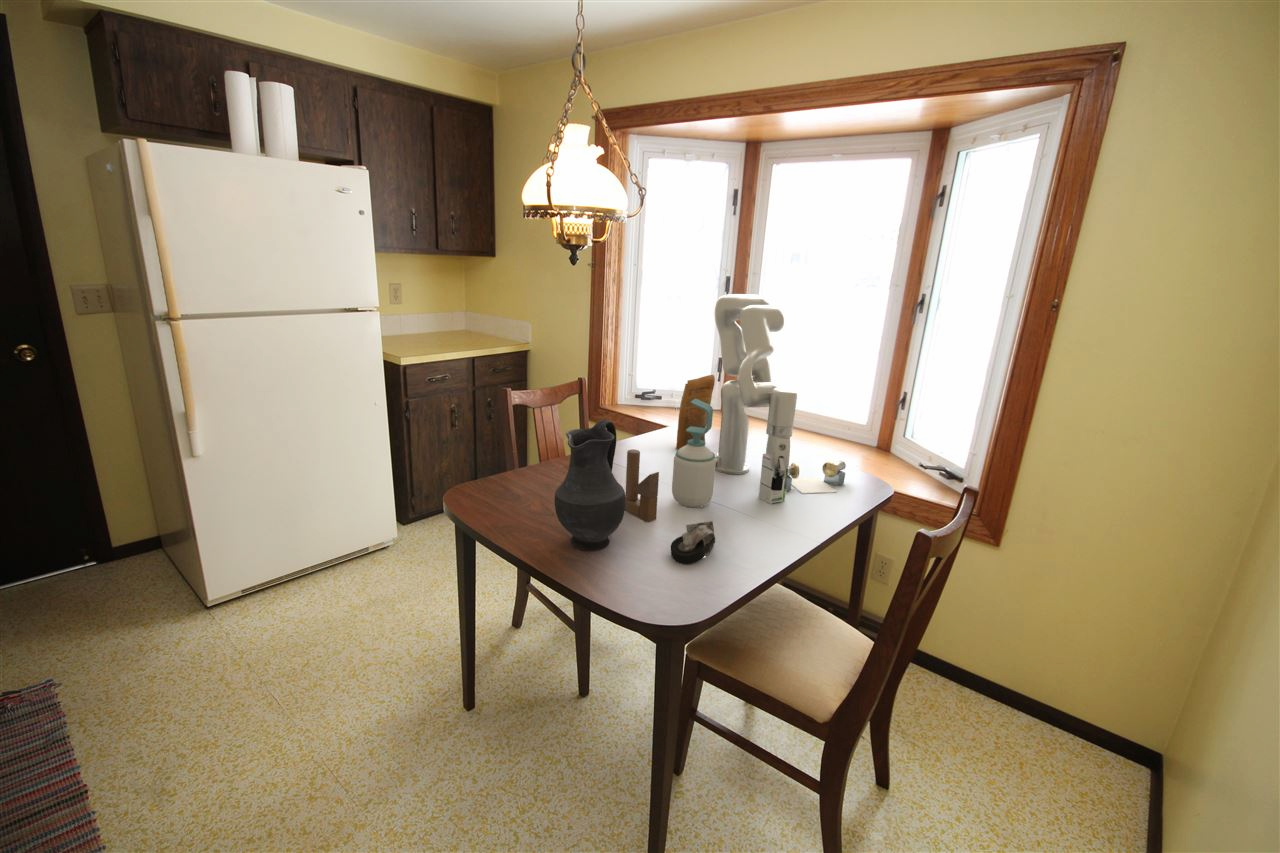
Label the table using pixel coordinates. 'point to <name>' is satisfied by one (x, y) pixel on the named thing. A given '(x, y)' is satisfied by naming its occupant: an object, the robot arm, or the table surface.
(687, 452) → the soap bottle
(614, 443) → the pitcher
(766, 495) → the syrup box
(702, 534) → the caster wheel
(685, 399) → the pancake mix bag
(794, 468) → the shaft
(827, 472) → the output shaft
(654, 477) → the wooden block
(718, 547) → the table surface
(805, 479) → the mat
